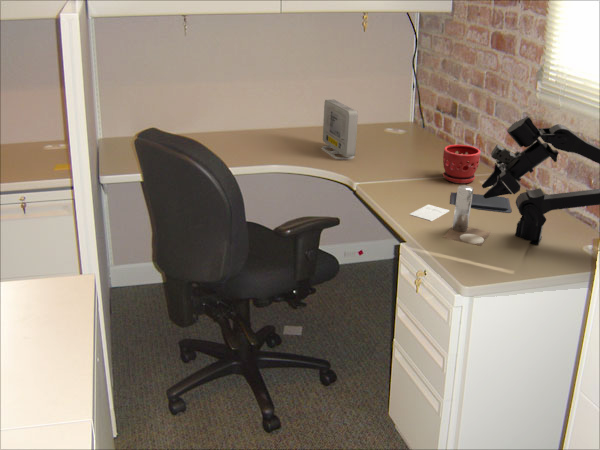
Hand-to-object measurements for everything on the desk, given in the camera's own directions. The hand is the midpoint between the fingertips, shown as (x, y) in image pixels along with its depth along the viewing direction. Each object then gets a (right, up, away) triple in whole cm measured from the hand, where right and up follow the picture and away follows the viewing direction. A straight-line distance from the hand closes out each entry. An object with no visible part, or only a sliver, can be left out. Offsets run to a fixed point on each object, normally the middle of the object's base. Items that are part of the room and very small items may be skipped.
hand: (483, 192), depth 185 cm
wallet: (+8, -3, +31) cm, 32 cm away
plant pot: (+6, +7, +53) cm, 53 cm away
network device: (-37, +20, +81) cm, 92 cm away
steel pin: (-5, -11, +6) cm, 13 cm away
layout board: (-4, -13, +2) cm, 14 cm away
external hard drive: (-12, -7, +18) cm, 23 cm away
